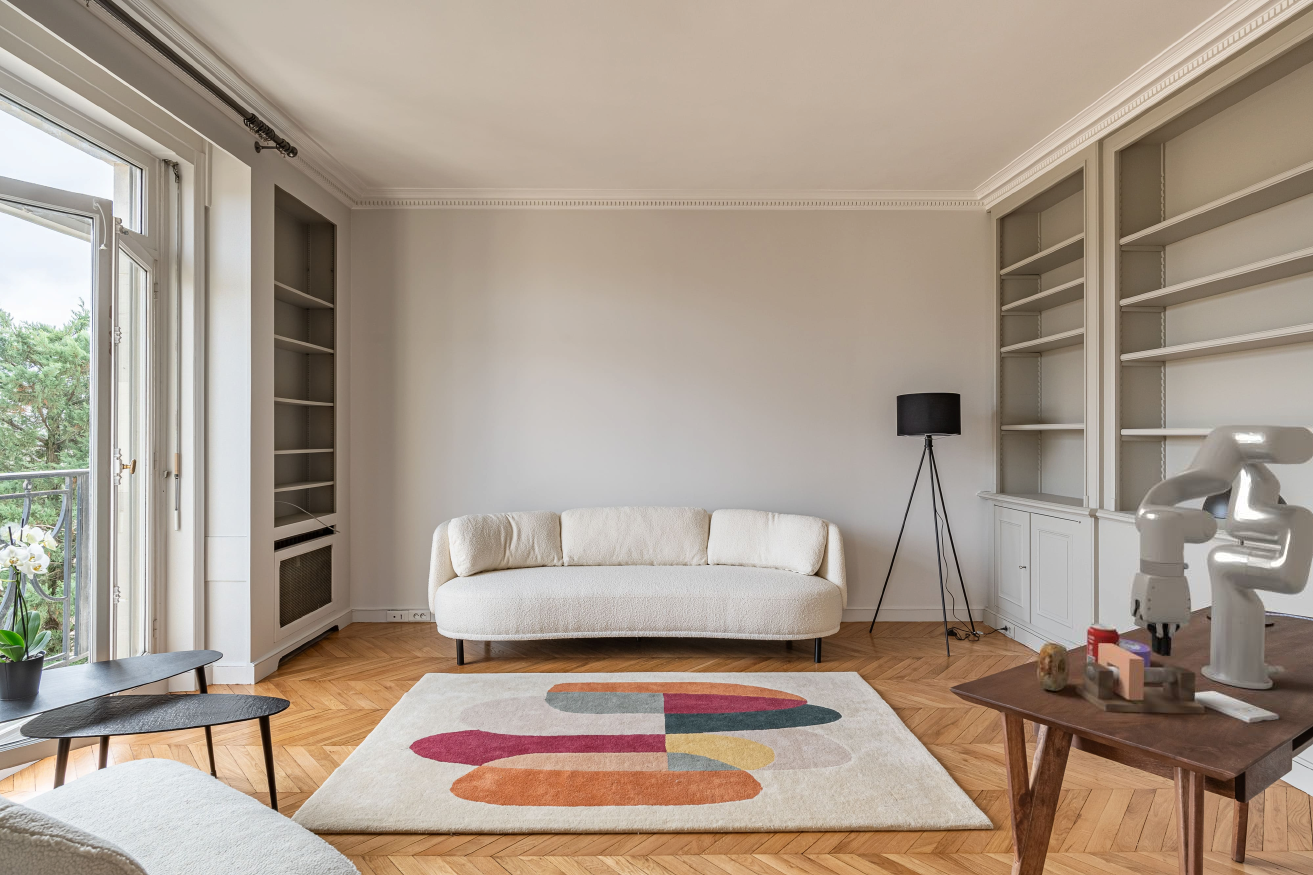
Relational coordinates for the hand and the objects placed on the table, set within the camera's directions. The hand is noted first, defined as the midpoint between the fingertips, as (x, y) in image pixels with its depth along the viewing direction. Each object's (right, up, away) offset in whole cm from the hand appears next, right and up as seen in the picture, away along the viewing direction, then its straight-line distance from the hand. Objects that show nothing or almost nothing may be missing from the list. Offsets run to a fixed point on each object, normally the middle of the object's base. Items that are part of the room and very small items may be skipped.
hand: (1161, 653), depth 144 cm
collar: (-9, -8, 0) cm, 12 cm away
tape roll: (+8, -11, +25) cm, 28 cm away
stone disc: (-19, -10, +7) cm, 23 cm away
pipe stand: (-5, -10, 0) cm, 12 cm away
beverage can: (-3, -10, +15) cm, 18 cm away
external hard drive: (+13, -12, -2) cm, 17 cm away
